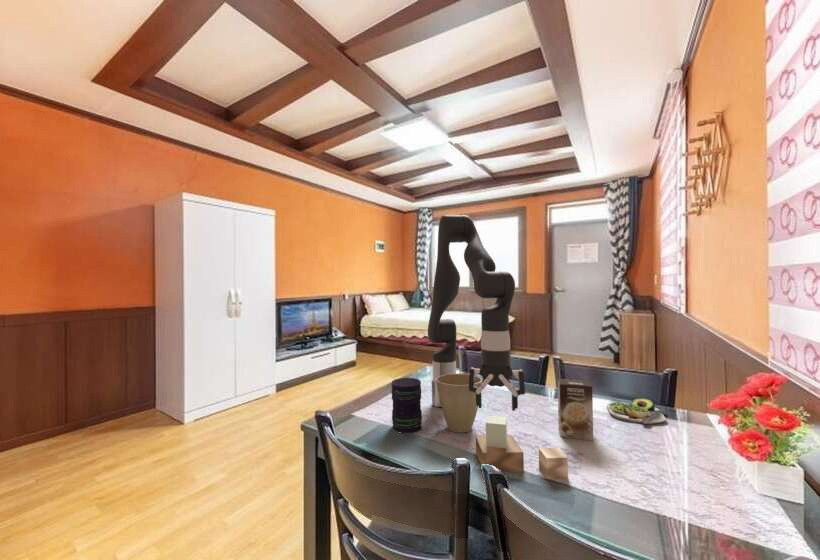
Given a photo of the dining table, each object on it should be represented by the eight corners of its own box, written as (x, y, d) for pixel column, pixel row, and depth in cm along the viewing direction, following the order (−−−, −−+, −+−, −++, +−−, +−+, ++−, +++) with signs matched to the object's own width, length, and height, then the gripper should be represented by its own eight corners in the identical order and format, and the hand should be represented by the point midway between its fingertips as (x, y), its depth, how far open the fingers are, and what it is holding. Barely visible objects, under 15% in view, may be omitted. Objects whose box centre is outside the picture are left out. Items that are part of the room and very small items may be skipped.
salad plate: (676, 432, 104) (676, 417, 104) (609, 423, 112) (609, 409, 112) (663, 411, 121) (662, 398, 122) (606, 404, 130) (605, 392, 130)
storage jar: (426, 424, 114) (425, 379, 114) (414, 435, 105) (413, 387, 105) (400, 419, 118) (399, 376, 118) (386, 430, 109) (385, 384, 109)
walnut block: (483, 473, 84) (483, 452, 84) (475, 453, 94) (475, 435, 94) (523, 472, 84) (523, 452, 84) (512, 452, 94) (511, 434, 94)
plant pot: (492, 427, 110) (491, 378, 110) (464, 442, 100) (463, 388, 100) (455, 415, 121) (454, 370, 121) (427, 428, 110) (426, 379, 111)
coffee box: (560, 437, 102) (558, 383, 102) (558, 428, 108) (556, 378, 108) (594, 441, 99) (592, 386, 99) (590, 432, 105) (588, 380, 105)
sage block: (486, 446, 87) (485, 422, 87) (487, 437, 92) (487, 415, 92) (506, 448, 86) (505, 424, 86) (506, 439, 91) (506, 417, 91)
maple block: (547, 479, 80) (546, 458, 80) (539, 468, 85) (538, 448, 85) (568, 478, 80) (567, 457, 80) (558, 467, 85) (558, 447, 85)
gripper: (467, 348, 88) (468, 411, 87) (525, 350, 84) (526, 416, 84) (469, 343, 95) (470, 401, 95) (522, 345, 91) (524, 405, 91)
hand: (496, 408), depth 89 cm, fingers open, 8 cm apart
